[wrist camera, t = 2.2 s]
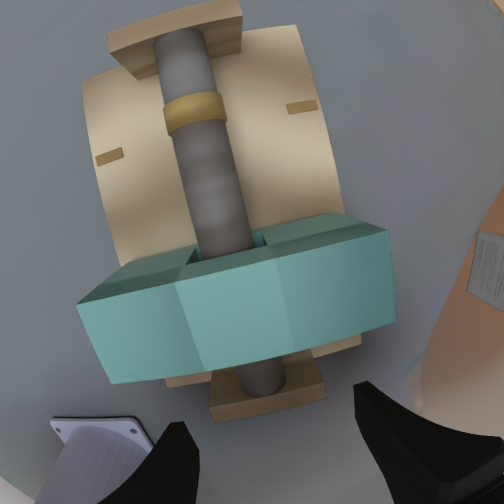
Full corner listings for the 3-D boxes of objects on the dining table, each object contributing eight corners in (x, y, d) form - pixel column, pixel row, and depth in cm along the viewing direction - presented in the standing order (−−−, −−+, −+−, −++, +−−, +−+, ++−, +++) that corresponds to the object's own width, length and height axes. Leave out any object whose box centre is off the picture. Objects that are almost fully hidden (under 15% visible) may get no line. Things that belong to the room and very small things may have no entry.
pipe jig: (356, 337, 16) (389, 382, 12) (170, 379, 17) (155, 433, 12) (292, 31, 13) (312, -16, 8) (87, 86, 13) (42, 60, 8)
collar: (344, 274, 14) (395, 321, 9) (148, 320, 14) (111, 383, 9) (333, 211, 13) (388, 230, 8) (128, 262, 13) (75, 304, 8)
